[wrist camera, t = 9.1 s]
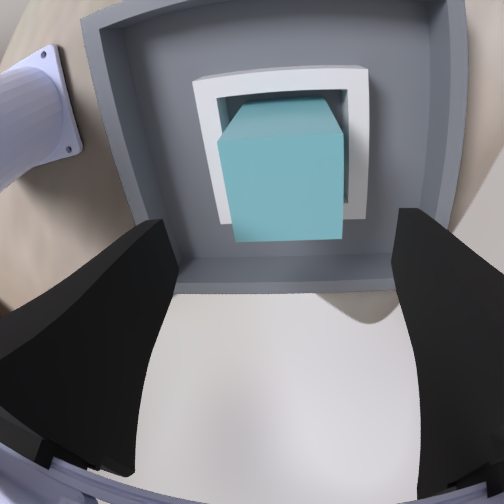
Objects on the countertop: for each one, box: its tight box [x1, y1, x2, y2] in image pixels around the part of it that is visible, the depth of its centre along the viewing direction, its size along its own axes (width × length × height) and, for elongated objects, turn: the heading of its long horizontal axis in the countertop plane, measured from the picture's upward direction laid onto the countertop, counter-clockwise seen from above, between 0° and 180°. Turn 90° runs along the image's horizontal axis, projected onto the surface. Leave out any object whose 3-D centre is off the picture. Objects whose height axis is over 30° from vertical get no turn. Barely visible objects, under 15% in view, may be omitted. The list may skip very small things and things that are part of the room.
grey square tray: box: [80, 0, 468, 294], centre depth 15 cm, size 18×18×3 cm
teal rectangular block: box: [217, 96, 344, 242], centre depth 13 cm, size 4×4×7 cm
